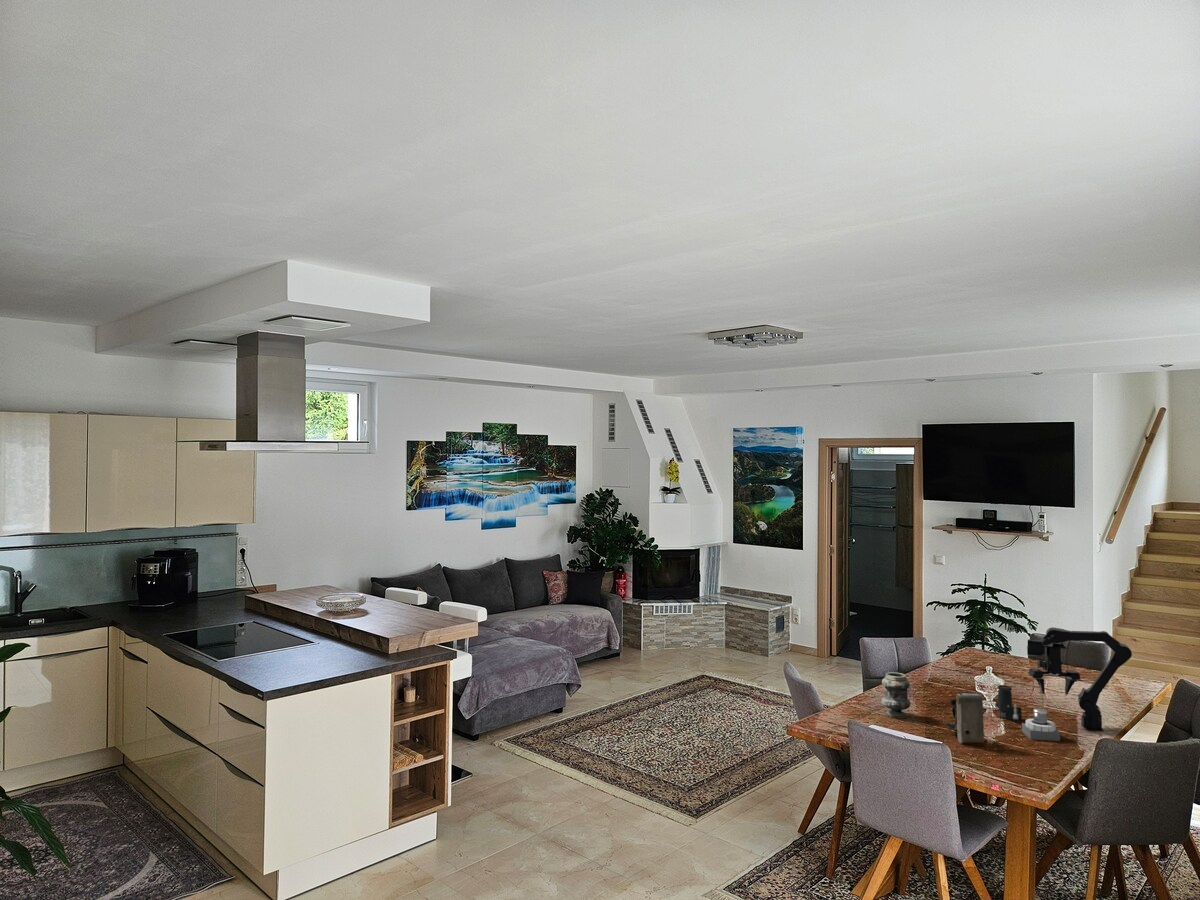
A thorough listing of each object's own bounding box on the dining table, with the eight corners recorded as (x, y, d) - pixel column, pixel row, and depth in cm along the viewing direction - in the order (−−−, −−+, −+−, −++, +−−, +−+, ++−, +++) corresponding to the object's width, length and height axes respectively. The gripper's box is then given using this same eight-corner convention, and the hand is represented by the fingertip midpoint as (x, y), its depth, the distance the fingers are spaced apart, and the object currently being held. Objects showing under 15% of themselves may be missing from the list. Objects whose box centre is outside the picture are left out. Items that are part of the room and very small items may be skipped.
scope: (1016, 691, 339) (992, 686, 346) (1017, 723, 338) (992, 718, 345) (1022, 687, 345) (998, 683, 352) (1023, 719, 344) (998, 714, 351)
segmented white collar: (1050, 732, 327) (1050, 719, 327) (1060, 741, 316) (1060, 727, 317) (1021, 731, 329) (1021, 717, 329) (1030, 739, 318) (1030, 725, 319)
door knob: (1035, 724, 326) (1034, 707, 326) (1048, 727, 323) (1048, 710, 323) (1032, 727, 323) (1032, 710, 323) (1046, 730, 319) (1045, 712, 319)
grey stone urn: (909, 712, 355) (908, 671, 355) (912, 720, 343) (911, 678, 343) (880, 709, 358) (880, 670, 358) (882, 717, 346) (882, 676, 347)
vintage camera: (966, 733, 328) (963, 684, 329) (985, 744, 312) (982, 693, 314) (943, 733, 327) (940, 685, 329) (961, 745, 312) (959, 694, 313)
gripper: (1070, 654, 346) (1070, 690, 345) (1024, 652, 349) (1024, 688, 349) (1080, 660, 335) (1081, 697, 334) (1033, 658, 338) (1033, 695, 338)
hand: (1054, 694), depth 339 cm, fingers open, 9 cm apart
